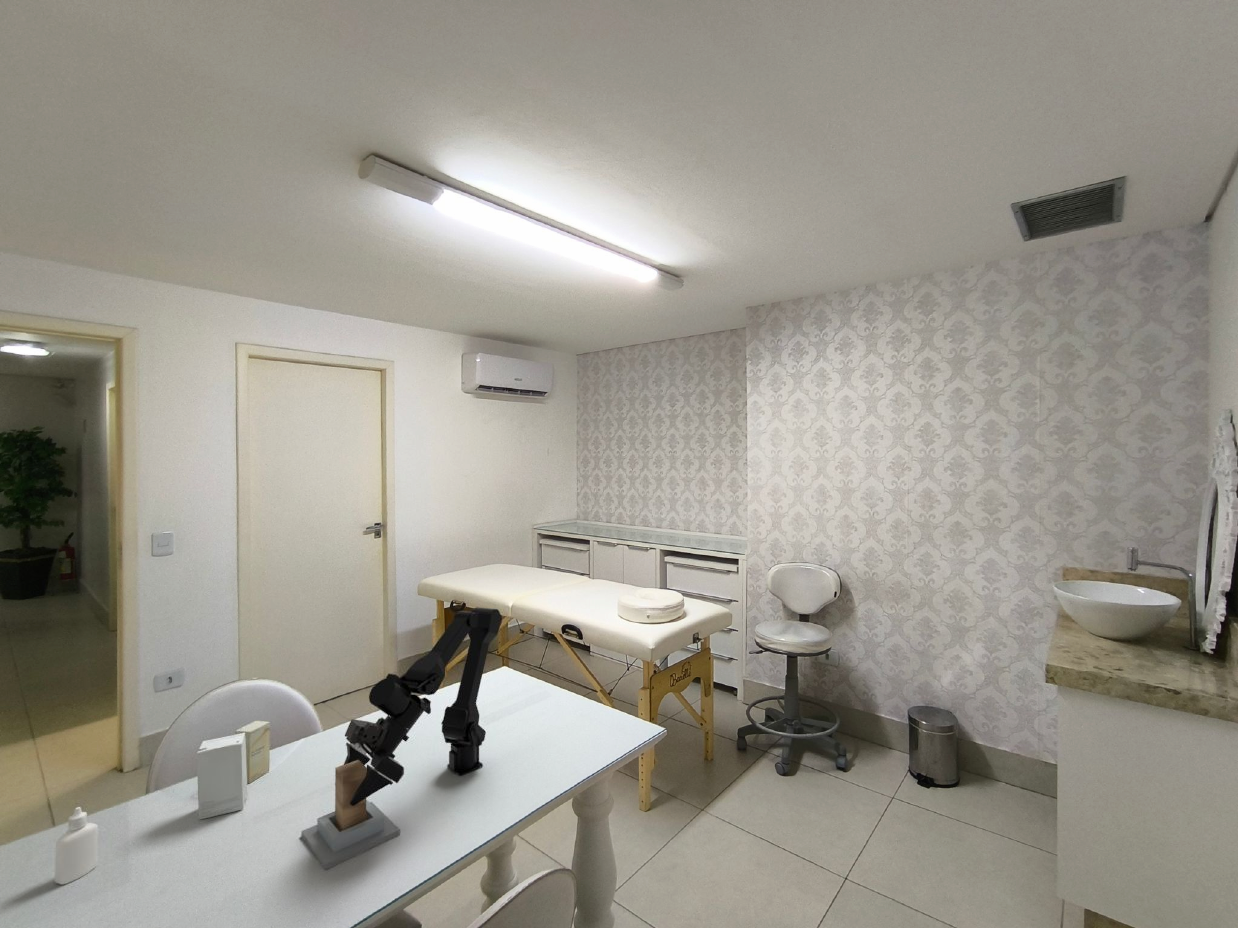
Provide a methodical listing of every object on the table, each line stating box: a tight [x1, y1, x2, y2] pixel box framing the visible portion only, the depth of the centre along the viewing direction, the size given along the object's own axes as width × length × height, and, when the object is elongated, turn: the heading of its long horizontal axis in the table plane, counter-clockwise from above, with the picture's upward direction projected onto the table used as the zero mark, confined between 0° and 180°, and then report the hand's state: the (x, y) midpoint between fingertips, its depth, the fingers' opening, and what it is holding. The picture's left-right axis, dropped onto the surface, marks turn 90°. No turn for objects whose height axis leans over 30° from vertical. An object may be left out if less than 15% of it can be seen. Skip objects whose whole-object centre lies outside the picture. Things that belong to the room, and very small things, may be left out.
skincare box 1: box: [196, 733, 248, 821], centre depth 122 cm, size 8×6×15 cm
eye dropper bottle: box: [54, 806, 99, 885], centre depth 102 cm, size 4×6×12 cm
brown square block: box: [334, 760, 367, 832], centre depth 112 cm, size 4×4×12 cm
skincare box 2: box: [234, 720, 271, 784], centre depth 135 cm, size 6×4×12 cm
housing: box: [300, 799, 401, 870], centre depth 112 cm, size 14×14×4 cm
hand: (343, 794), depth 111 cm, fingers open, 9 cm apart
